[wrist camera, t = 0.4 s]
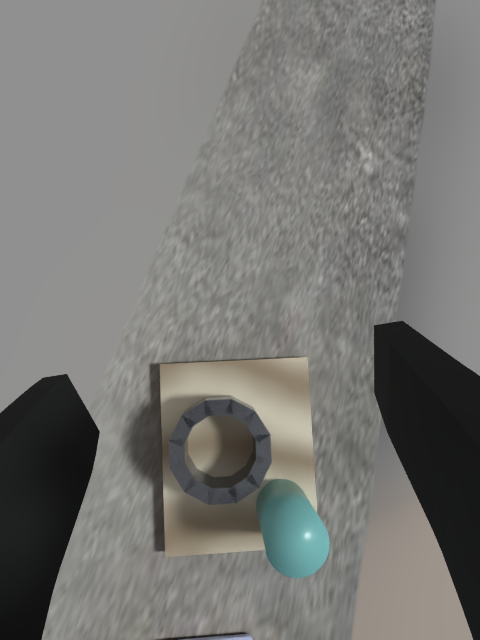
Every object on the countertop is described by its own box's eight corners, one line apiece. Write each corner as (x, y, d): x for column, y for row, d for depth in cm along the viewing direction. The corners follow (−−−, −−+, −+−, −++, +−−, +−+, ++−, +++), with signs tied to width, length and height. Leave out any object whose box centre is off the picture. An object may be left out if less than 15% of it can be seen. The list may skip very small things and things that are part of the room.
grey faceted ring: (269, 488, 34) (274, 500, 31) (175, 494, 34) (170, 507, 31) (264, 393, 35) (268, 396, 32) (172, 398, 34) (167, 402, 31)
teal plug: (308, 530, 34) (331, 575, 27) (257, 534, 34) (266, 580, 27) (305, 477, 34) (327, 507, 27) (254, 480, 34) (263, 512, 27)
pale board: (316, 540, 35) (319, 545, 34) (166, 551, 34) (165, 557, 33) (304, 357, 36) (307, 357, 35) (161, 364, 35) (159, 364, 34)
